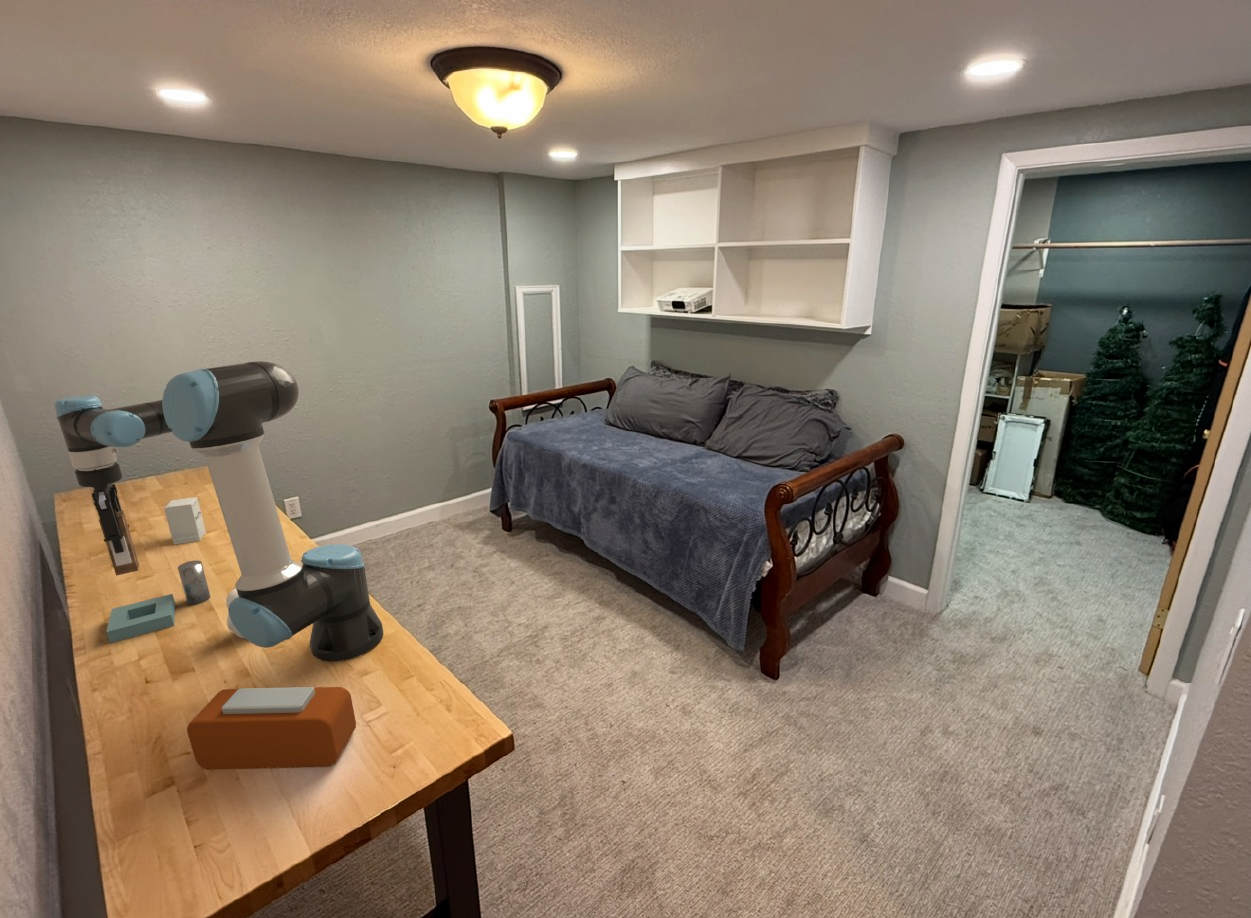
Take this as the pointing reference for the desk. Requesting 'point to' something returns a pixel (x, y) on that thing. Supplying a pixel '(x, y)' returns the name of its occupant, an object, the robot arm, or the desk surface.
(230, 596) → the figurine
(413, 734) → the desk surface
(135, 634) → the socket block
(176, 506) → the supplement box
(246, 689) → the block with grey pad
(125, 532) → the square bit
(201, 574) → the round bit
